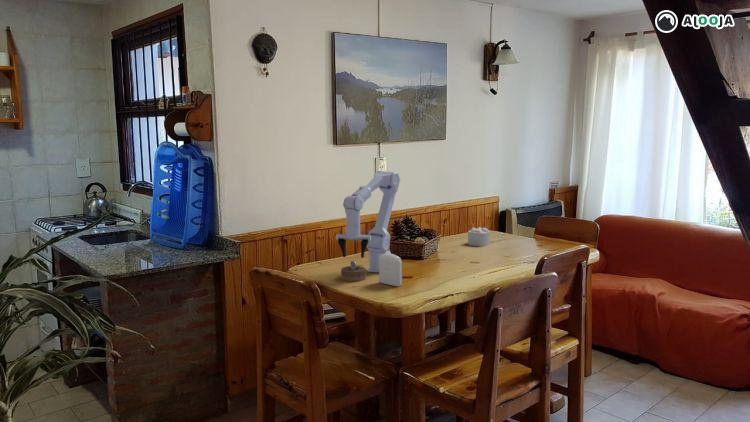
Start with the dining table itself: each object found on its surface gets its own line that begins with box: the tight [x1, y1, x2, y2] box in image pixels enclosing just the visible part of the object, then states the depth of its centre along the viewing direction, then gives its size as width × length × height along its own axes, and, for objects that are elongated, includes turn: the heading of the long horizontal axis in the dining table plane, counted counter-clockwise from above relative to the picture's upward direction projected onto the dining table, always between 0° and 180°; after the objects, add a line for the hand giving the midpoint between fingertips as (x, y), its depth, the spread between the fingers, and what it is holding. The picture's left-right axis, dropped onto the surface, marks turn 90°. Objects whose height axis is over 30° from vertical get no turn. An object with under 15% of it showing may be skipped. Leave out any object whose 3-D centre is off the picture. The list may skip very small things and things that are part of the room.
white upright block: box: [378, 253, 403, 287], centre depth 234 cm, size 10×4×12 cm, turn 47°
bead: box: [340, 265, 367, 282], centre depth 243 cm, size 10×10×4 cm
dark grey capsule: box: [350, 260, 357, 270], centre depth 243 cm, size 2×2×7 cm
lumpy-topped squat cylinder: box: [467, 226, 491, 247], centre depth 315 cm, size 10×13×9 cm
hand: (353, 257), depth 243 cm, fingers open, 7 cm apart
